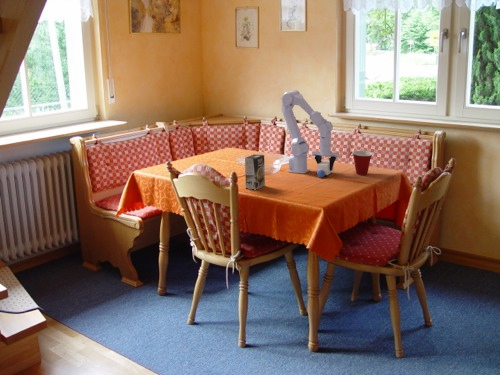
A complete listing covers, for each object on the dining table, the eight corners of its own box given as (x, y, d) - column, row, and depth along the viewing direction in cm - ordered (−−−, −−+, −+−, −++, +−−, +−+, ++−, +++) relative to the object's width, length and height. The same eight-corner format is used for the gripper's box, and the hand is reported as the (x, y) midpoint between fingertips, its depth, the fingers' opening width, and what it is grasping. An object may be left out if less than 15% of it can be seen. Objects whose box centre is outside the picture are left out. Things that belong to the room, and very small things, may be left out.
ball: (319, 174, 330) (316, 178, 327) (318, 168, 328) (315, 172, 325) (326, 174, 328) (324, 179, 326) (325, 168, 326) (323, 173, 323)
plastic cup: (372, 177, 325) (372, 154, 322) (351, 176, 327) (351, 154, 324) (372, 171, 335) (373, 150, 332) (352, 171, 337) (352, 149, 334)
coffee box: (256, 190, 308) (255, 158, 304) (245, 188, 311) (244, 157, 307) (265, 185, 315) (264, 154, 311) (254, 184, 319) (253, 153, 314)
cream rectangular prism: (317, 174, 330) (317, 164, 329) (323, 169, 338) (323, 160, 337) (327, 175, 328) (327, 165, 326) (333, 170, 336) (333, 161, 334)
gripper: (309, 145, 328) (310, 170, 332) (336, 147, 322) (335, 172, 326) (314, 142, 334) (314, 167, 338) (340, 144, 328) (340, 169, 332)
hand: (325, 169), depth 332 cm, fingers closed on cream rectangular prism, 6 cm apart
